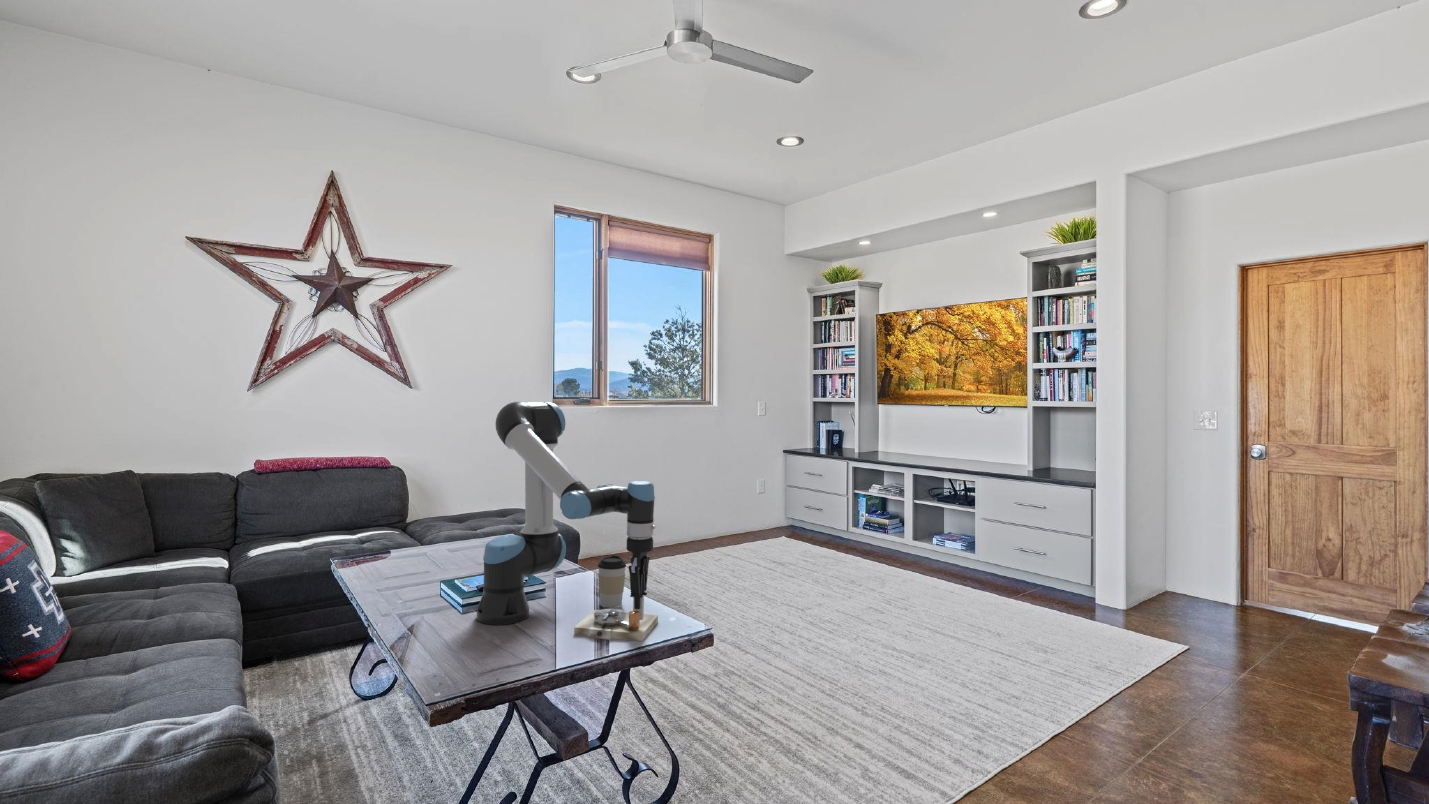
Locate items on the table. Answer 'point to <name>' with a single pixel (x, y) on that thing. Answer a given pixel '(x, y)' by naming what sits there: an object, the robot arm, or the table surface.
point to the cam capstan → (617, 618)
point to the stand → (615, 628)
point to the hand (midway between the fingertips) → (638, 618)
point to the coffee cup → (611, 581)
